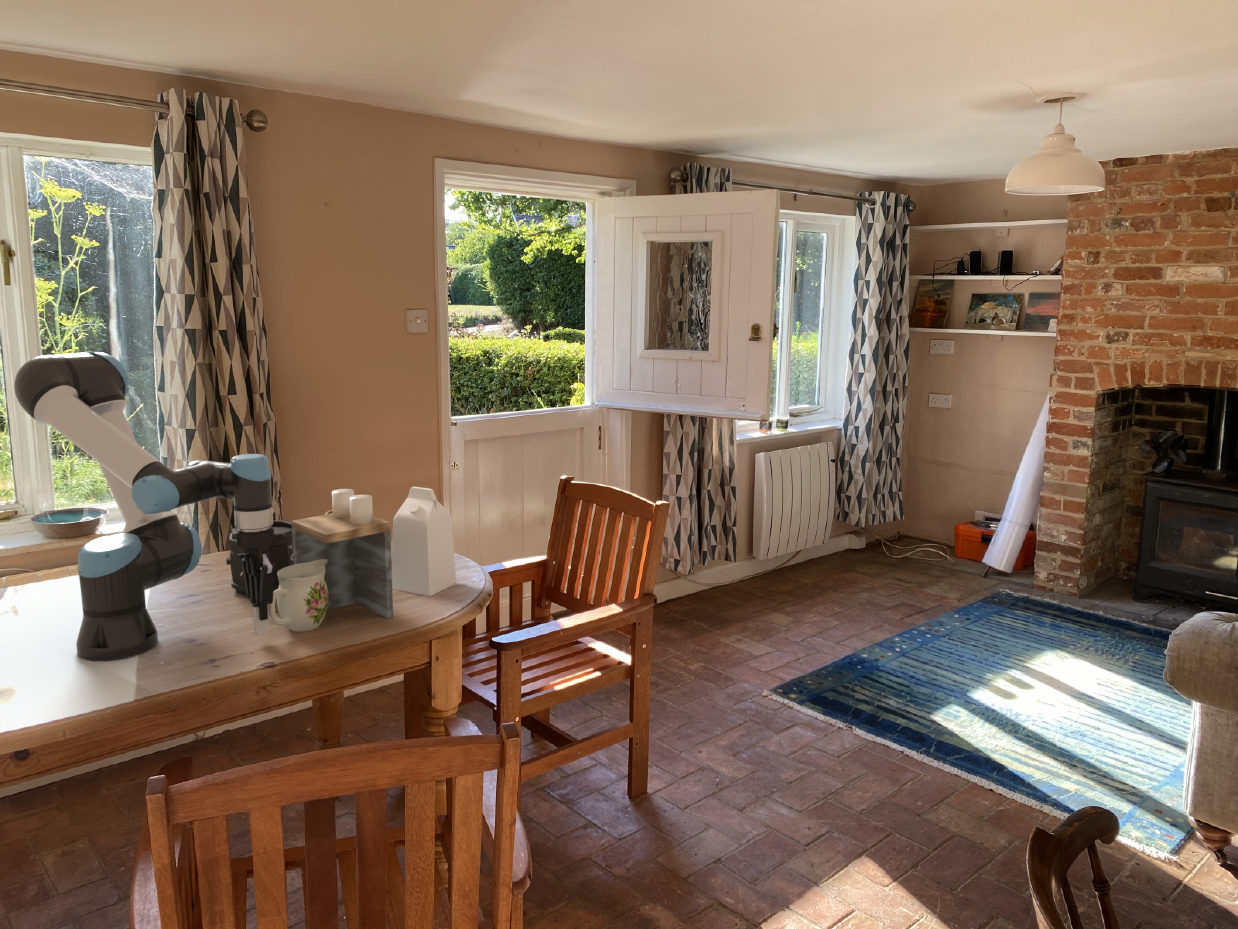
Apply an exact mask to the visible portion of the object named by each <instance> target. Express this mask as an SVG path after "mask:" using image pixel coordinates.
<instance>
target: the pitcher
mask: <svg viewBox="0 0 1238 929" xmlns="http://www.w3.org/2000/svg"><path fill="white" fill-rule="evenodd" d="M327 562H328V560H327V559H319V560H315V561H311V562H306V563H299V564H295V565H291V566H288V567H285V568H282V569H280V570H279V571H278V572H277V576H278V579H279V583H280V584H279V588H278V589H276V590H275V591H274V592H273V603H271V604H268V616H269V619H271V621H272V622H273V623H274V624H276V625H278V626H286V627H287V628H288V629H289V630H290V631H292V632H299V633H301V632H309V631H313V630H315V629H317V628H318V629H319V627H320V625H321V624H322V622H323V621H324V619H325V617H326V613H327V611H328V610H327V607H328V589H327V585H326V583H325V580H324V576H325V565H326V564H327ZM276 604H277V608H278V612H279V616H280V617H278V616H277V614H276V608H275V607H276Z"/></svg>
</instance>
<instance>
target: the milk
mask: <svg viewBox="0 0 1238 929" xmlns="http://www.w3.org/2000/svg"><path fill="white" fill-rule="evenodd" d="M453 534H454V533H453V521H452V515H451V513H450V512H449V511H448V509H446V507H444V506H443V504H442V503H441V502H440V501H439V500H437V497H436V494H435V491H434V489H433V488H428V487H420V486H411V487H410V489H409V492H408V494H407V498H405V500H404V502H402V504H401V506H400V507H399V508H398V510H397V512H396V513H395V515H394V516H393V520H392V540H391V562H392V590H396V591H402V592H406V593H411V594H417V595H421V596H422V595H423V596H428V597H430V596H433V595H436V594H437V593H439V592H441V591H443V590H446V589H447V588H449V587H452V586H453V585H456V584H457V577H456V576H457V575H456V562H455V550H454V549H455V548H454V536H453Z"/></svg>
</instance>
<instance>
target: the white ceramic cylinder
mask: <svg viewBox="0 0 1238 929" xmlns="http://www.w3.org/2000/svg"><path fill="white" fill-rule="evenodd" d="M354 495H355V490H354V489H353V488H352V489H351V488H338V489H333V490H332V491H331V499H332V500H331V503H332V504H331V505H332V507H331V508H332V509H331V510H333V518H337V519H346V518H350V501H349V497H351V496H354Z"/></svg>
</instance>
